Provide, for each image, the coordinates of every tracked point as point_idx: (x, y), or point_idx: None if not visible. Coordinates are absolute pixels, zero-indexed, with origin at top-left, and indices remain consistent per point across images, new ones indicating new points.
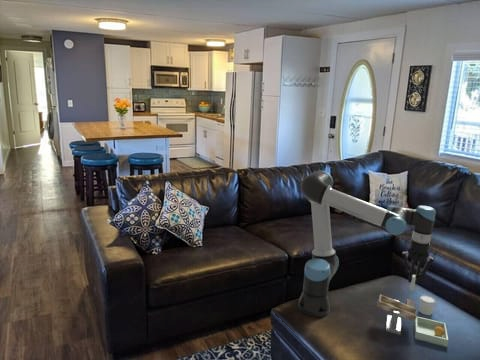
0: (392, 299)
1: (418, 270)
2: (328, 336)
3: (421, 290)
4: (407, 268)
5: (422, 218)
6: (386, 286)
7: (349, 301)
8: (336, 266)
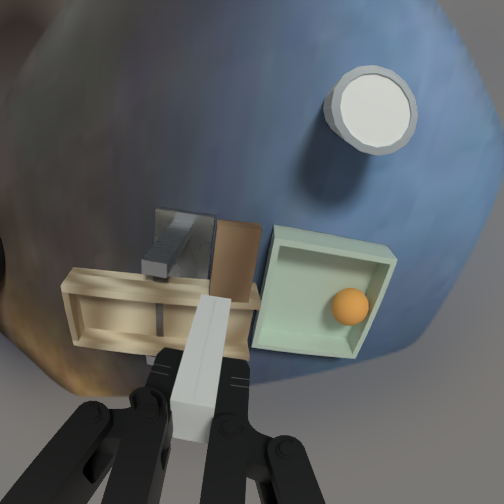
0: (125, 296)
1: None
2: (42, 349)
3: None
4: (86, 489)
5: None
6: None
7: (29, 151)
8: None
